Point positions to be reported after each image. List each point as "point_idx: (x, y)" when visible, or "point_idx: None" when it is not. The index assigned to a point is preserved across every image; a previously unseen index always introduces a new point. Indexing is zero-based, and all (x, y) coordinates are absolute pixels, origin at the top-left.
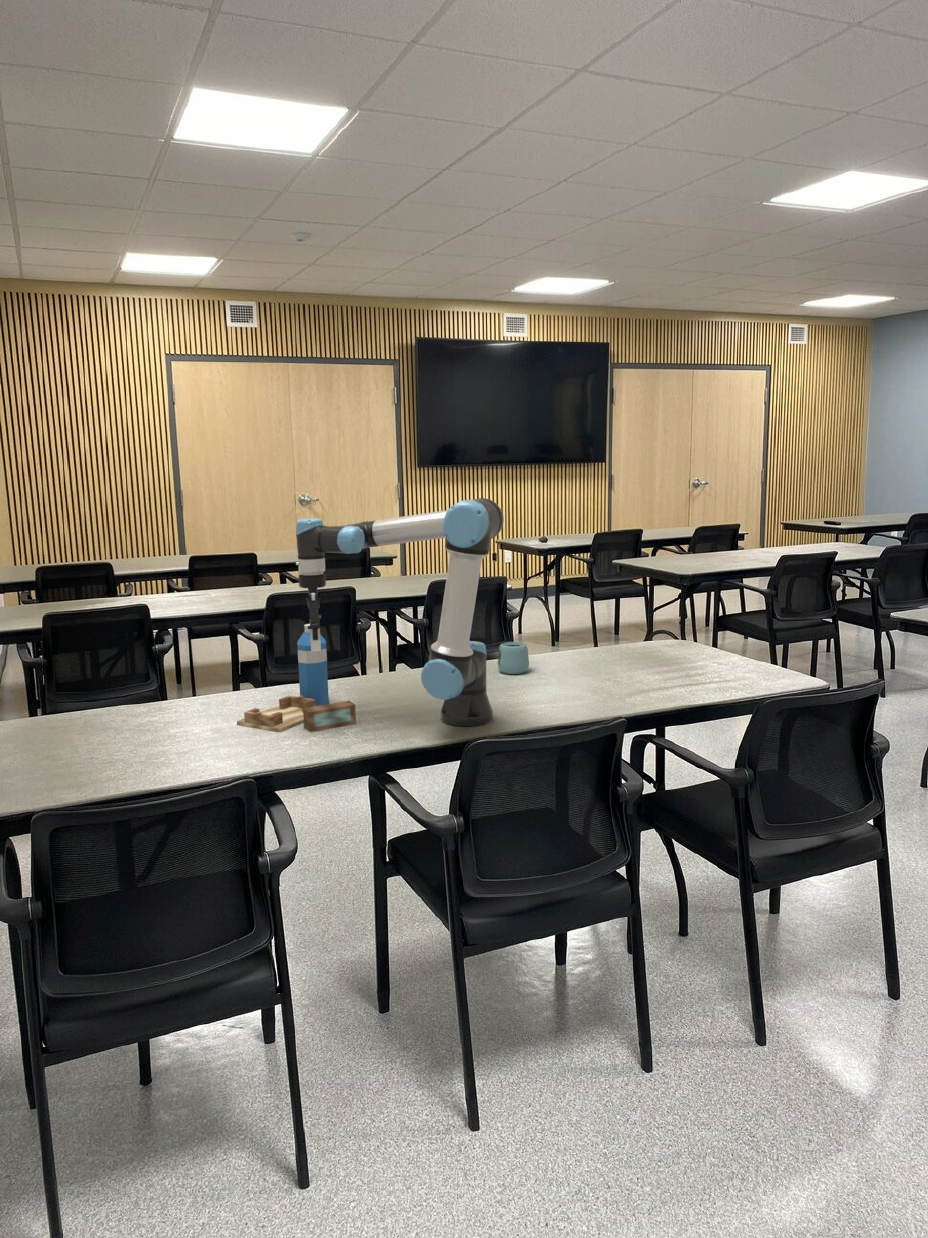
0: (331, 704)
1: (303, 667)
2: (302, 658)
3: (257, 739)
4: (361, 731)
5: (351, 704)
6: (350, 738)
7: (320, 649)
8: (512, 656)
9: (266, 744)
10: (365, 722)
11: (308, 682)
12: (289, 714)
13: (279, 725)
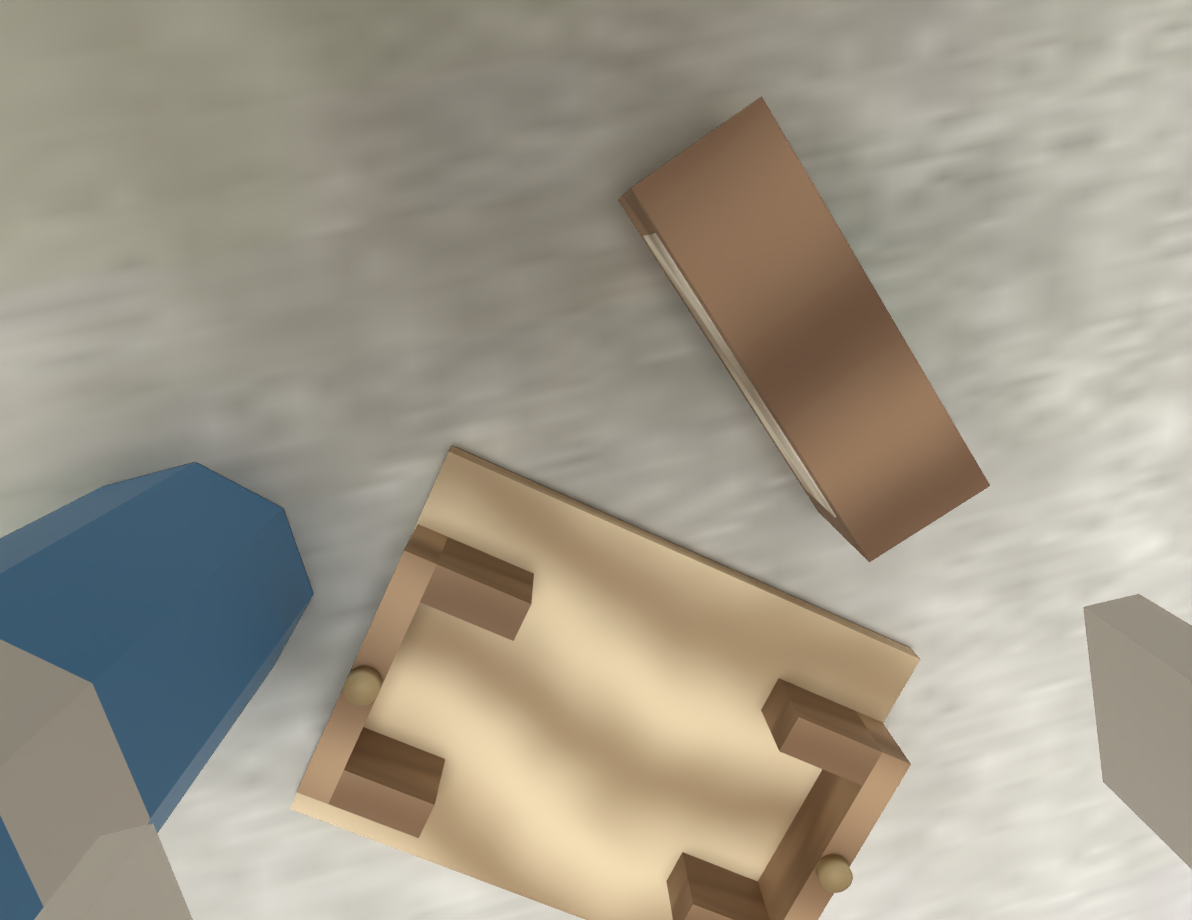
0: (761, 334)
1: None
2: None
3: (1051, 748)
4: (928, 38)
5: (763, 134)
6: (1096, 100)
7: (1156, 614)
8: None
9: None
10: (687, 45)
11: (236, 689)
12: (574, 684)
13: (844, 683)
